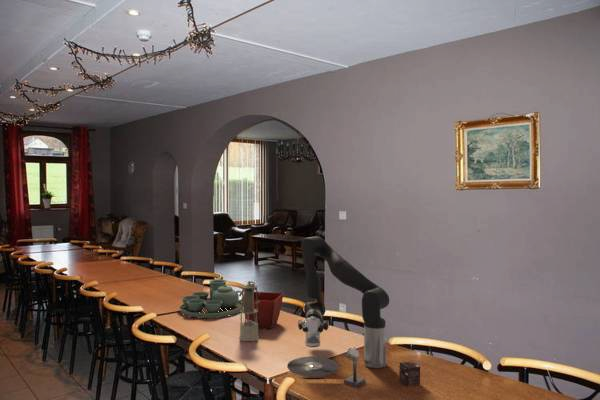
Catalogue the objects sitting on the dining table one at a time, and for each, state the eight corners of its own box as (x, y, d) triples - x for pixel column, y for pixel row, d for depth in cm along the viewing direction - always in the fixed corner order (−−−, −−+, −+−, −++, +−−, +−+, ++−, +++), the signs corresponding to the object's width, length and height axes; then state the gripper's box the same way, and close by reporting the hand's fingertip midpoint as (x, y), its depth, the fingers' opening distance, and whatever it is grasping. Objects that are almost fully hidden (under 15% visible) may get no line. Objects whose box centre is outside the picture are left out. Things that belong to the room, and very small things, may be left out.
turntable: (337, 359, 206) (337, 356, 206) (339, 380, 184) (339, 376, 184) (289, 358, 207) (289, 355, 207) (285, 378, 185) (285, 375, 185)
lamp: (252, 334, 243) (252, 278, 242) (266, 340, 233) (266, 282, 232) (235, 338, 236) (235, 280, 236) (248, 345, 226) (248, 284, 226)
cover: (320, 342, 199) (320, 315, 198) (320, 347, 192) (320, 319, 192) (305, 342, 199) (305, 314, 199) (305, 347, 193) (305, 319, 192)
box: (398, 380, 185) (399, 362, 184) (411, 378, 187) (411, 360, 187) (407, 386, 179) (407, 368, 179) (420, 384, 181) (420, 366, 181)
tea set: (174, 306, 301) (174, 282, 300) (233, 300, 318) (233, 277, 318) (186, 322, 265) (186, 294, 265) (252, 314, 282) (252, 288, 282)
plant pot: (241, 329, 252) (241, 298, 252) (252, 319, 271) (252, 291, 271) (274, 331, 248) (274, 300, 247) (283, 321, 266) (283, 293, 266)
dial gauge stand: (365, 382, 182) (365, 346, 182) (356, 387, 178) (357, 350, 177) (346, 376, 188) (346, 341, 188) (338, 381, 184) (338, 345, 183)
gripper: (298, 310, 210) (295, 321, 193) (329, 311, 209) (329, 321, 193) (298, 326, 210) (295, 338, 194) (329, 327, 210) (329, 339, 193)
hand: (312, 330), depth 193 cm, fingers closed on cover, 6 cm apart
